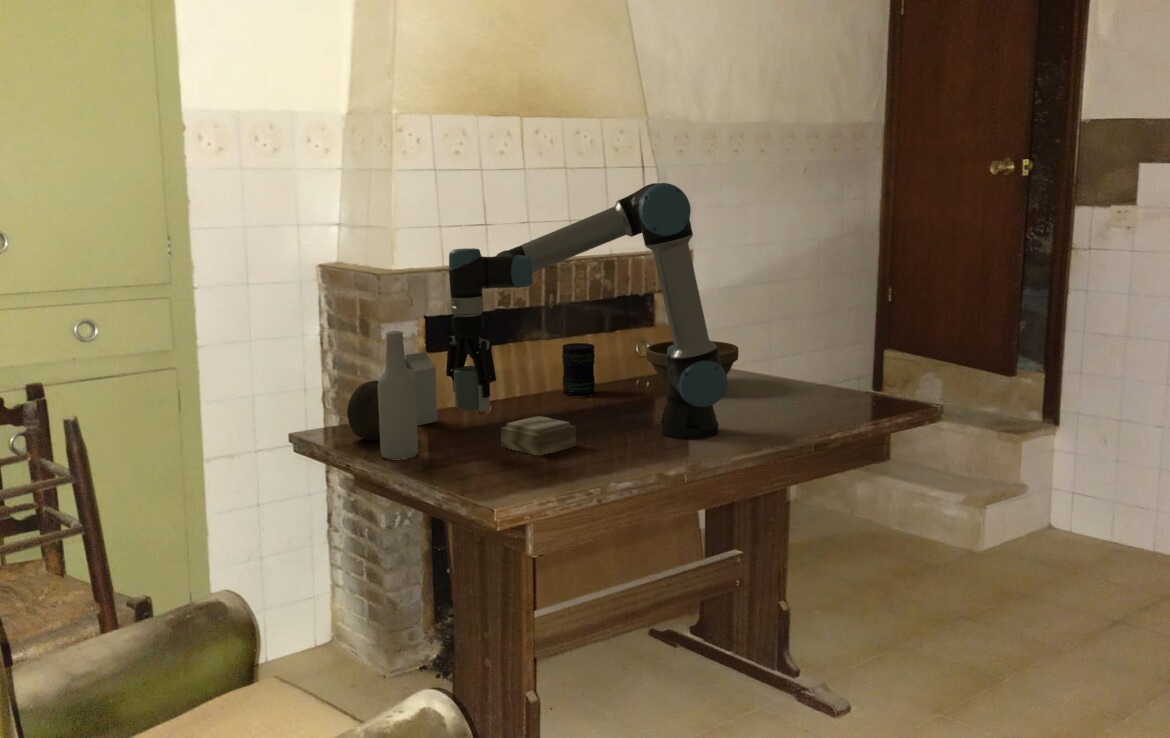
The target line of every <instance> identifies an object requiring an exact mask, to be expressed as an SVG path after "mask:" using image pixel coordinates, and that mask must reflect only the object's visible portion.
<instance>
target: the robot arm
mask: <svg viewBox="0 0 1170 738" xmlns="http://www.w3.org/2000/svg"><path fill="white" fill-rule="evenodd" d="M691 212H692V211H691V204H690V201H689V198H688V197H687V195H686V194H685V192H684V191H683V190H682V189H681V188H679V187H678V186H677V185H675V184H672V183H667V182H659V183H658V182H656V183H650V184H648V185H645V186H643V187H641V188H640V189H638V190H636V191H635V192H633V193H632V194H629V195H627V196H625V197H623V198H621V199H619V200H617V201H616V203H615V205H614V206H612V207H610V208H608V209H605V210H602V211H600V212H598V213H595V214H593V215H591V216H587V217H585V218H584V219H581V220H578V221H576V222H573V223H571V224H568V225H567V226H566V225H565V226H563V227H561V228H559V229H557V230H554V231H551V232H549V233H547V234H544V235H542V236H539V237H537V238H535V239H532V240H530V241H528V242H524V243H523V244H520V245H519V246H515V247H513V248H511V249H507V250H506V249H505V250H502V251H501V252H498V253H497V254H496V255H495V256H484V255H483V256H482V254H481V250H480V249H479V248H473V247H472V248H470V247H469V248H455V249H452V250H451V251H450V252H449V254H448V275H449V276H448V279H449V290H450V291H449V292H450V306H451V313H452V316H451V328H452V329H451V330H452V332H454V333H455V334H454V335H451V336H447V337H446V345H447V351H446V352H447V353H446V368H445V369H446V371H445V373H446V376H447V377H450V378H451V380H452V387H453V389H452V390H453V393H454V404H455V406H454V407H456V408H458V407H459V405H458V403H457V400H456V394H455V383H454V370H455V369H456V368H462V367H464V366H466V362H467V357H468V356H469V357H470V358H471V360H472V362H473V366H475V368H476V371H477V375H478V378H479V381H480V383H478V399H479V410H478V412H480V413H481V412H486V411H490V410H491V409H490V406H491V405H490V397H491V386H490V385H491V383H493V382H496V381H497V376H496V370H495V365H494V358H493V357H494V356H493V351H492V347H493V341H492V340H491V339H484V337H483V335H482V332H483V331H484V329H485V318H484V315H483V314H482V313H483V312H484V299H483V289H486V290H488V289H507V288H508V289H510V288H515V289H520V288H529V287H530V286H532V284H533V274H534V273H536V272H539V271H541V270H543V269H546V268H548V267H550V266H553V265H556V264H558V263H560V262H564V261H566V260H569V259H570V258H573V257H575V256H577V255H581V254H583V253H586V252H588V251H590V250H593V249H594V248H597V247H600V246H602V245H604V244H607V243H610V242H612V241H615V240H617V239H619V238H622V237H625V236H628V237H631V238H632V237H634V236H637V235H640V234H642V239H643V242H644V247H646V248H647V249H648V250H650V251H652V253H653V259H654V262H655V266H656V270H657V276H658V280H659V285H660V288H661V289H660V290H661V293H662V294H661V295H662V299H663V302H664V307H665V311H666V317H667V320H668V325H669V329H670V334H671V338H672V341H673V343H674V345H671V346H669V347H668V350H667V356H666V358H667V384H666V403H665V406H664V410H663V412H662V416H661V420H660V422H659V433H660V434H662V435H663V436H666V437H671V438H675V439H687V440H688V439H689V440H690V439H691V440H692V439H697V438H698V439H707V438H712V437H714V436H716V435H718V434H719V422H718V420H717V415H716V413H715V408H714V406H713V405H715V404H717V403H718V402H719V401H721V399H722V398H723V397H724V395H725V393H726V392H727V389H728V383H729V382H728V374H727V375H726V373H725V370H724V369H723V368H722V366H721V362H720V358H719V353H718V349H717V345H716V344H715V343H713V342H711V341H712V340H710V337H709V334H708V328H707V324H706V319H705V314H704V310H703V305H702V301H701V297H700V290H699V285H698V281H697V277H696V274H695V268H694V264H693V263H694V262H693V260H692V255H691V249H690V245H689V243H690V241H691V239H692V237H693V236H694V232H693V229H692V224H691ZM484 377H485V379H484ZM459 408H460V407H459Z"/></svg>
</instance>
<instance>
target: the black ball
mask: <svg viewBox="0 0 1170 738" xmlns="http://www.w3.org/2000/svg"><path fill="white" fill-rule="evenodd" d="M378 382H379V380H370V381H366V382H364V383H362V384H361V385H359V386H358V387H357V388H356V389H355V390H354V392H353V393H352V394H351V396H350V397H349V401H348V402H347V403H348V404H347V410H346V417H347V419H348V420H347V421H348V424H349V426H350V428H351V431H352V432H353V434H354V435H356V436H357V437H359V438H361V439H363V440H365V441H367V442H377V441H380V426H379V404H378Z"/></svg>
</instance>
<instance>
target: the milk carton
mask: <svg viewBox="0 0 1170 738" xmlns="http://www.w3.org/2000/svg"><path fill="white" fill-rule="evenodd" d="M405 362H406V368H407V370H408V372H409V373H410V374H411V375H412V376H413V378H414V381H415V385H416V411H417V427H418V426H422V425H426V424H430V423H435V422H438V402H437V401H438V400H437V399H438V398H437V372H436V371H437V368H436V366H435V364H434V363H433V361H432V360H431V359H430V357H429V356H428V351H421V352H415V353H410V354H409V353H408V354H406V355H405Z"/></svg>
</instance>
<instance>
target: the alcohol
mask: <svg viewBox="0 0 1170 738" xmlns="http://www.w3.org/2000/svg"><path fill="white" fill-rule="evenodd" d="M385 334H386V336H385V337H386V338H385V340H386V352H385V353H386V356H385V369H384V371H383V373H382V374H381V376H380V377H379V379H378V381H379V382H378V404H379V426H380V440H379V441H380V442H379V447H380V455H381V457H382V458H383V457H385V458H389V459H402V458H409V457H413V456H415V455H416V454H417V455H418V453H419V443H418V442H419V440H418V426H417V411H416V385H415V381H414V378H413V376H412V375H411V374H410V373H409V372H408V370H407V368H406V362H405V359H406V355H405V345H404V336H403V335H404V332H403V331H400V330H390V331H389V330H388V331H386V333H385ZM417 455H416V456H417ZM416 456H415V457H416ZM385 458H384V459H385Z"/></svg>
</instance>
